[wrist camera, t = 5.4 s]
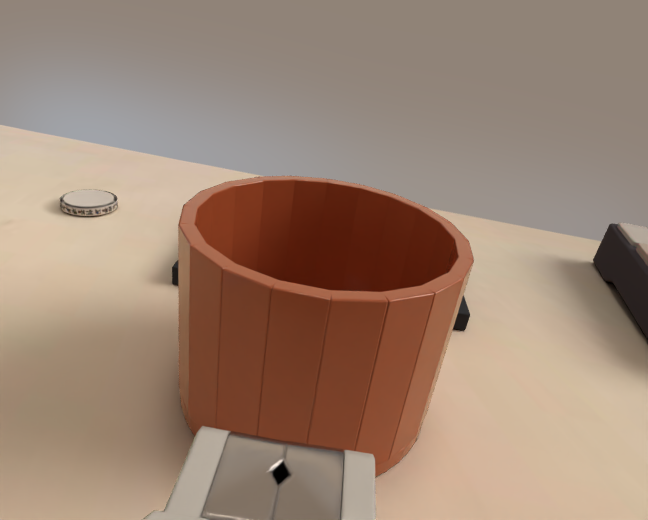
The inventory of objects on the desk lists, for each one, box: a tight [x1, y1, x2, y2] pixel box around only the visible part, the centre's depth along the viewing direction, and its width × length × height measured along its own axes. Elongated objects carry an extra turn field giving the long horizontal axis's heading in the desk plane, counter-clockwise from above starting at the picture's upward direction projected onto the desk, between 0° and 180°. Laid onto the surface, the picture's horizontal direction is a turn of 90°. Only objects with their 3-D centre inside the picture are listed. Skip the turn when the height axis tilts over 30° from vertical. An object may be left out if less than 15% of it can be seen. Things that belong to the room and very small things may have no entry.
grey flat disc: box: [60, 190, 118, 216], centre depth 38 cm, size 4×4×1 cm
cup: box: [178, 176, 474, 477], centre depth 21 cm, size 11×11×8 cm
